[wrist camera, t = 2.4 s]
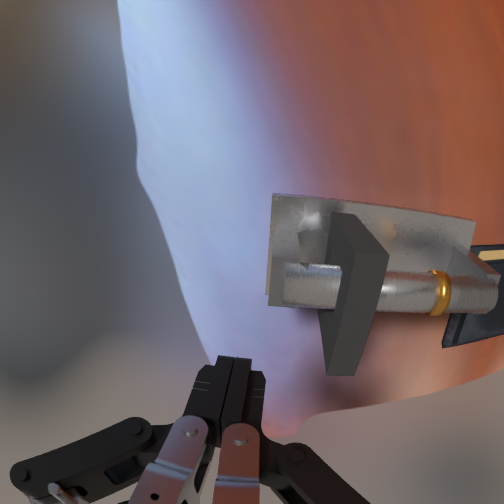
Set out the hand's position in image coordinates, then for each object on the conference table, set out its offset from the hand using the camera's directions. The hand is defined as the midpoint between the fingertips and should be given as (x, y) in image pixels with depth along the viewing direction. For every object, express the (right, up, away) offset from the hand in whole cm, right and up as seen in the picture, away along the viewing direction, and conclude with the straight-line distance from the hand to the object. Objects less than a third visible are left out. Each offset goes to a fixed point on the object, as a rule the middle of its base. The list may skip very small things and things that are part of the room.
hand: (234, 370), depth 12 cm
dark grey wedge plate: (+8, +4, +12) cm, 15 cm away
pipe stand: (+13, +5, +15) cm, 21 cm away
